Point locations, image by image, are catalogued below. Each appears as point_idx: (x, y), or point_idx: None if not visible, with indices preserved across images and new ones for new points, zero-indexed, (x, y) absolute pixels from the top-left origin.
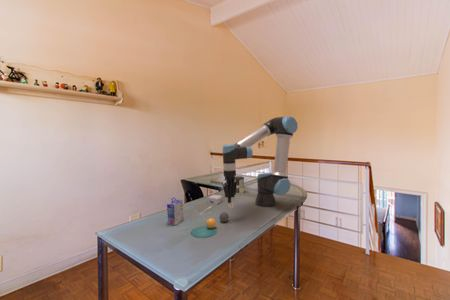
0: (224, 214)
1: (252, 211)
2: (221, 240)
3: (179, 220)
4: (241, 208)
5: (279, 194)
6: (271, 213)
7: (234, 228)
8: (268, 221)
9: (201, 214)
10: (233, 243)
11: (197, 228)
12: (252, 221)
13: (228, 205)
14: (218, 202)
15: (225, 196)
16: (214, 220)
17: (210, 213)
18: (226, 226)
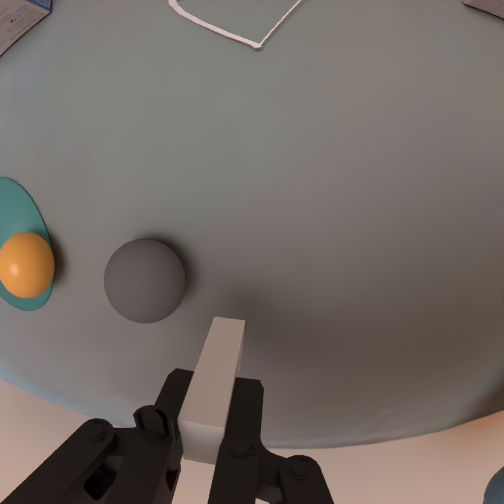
0: (118, 311)
1: (449, 329)
2: (29, 354)
3: (9, 39)
4: (486, 230)
5: (489, 481)
6: (432, 411)
7: (128, 364)
8: (318, 445)
9: (177, 5)
10: (51, 393)
11: (2, 194)
12: (278, 404)
13: (209, 331)
14: (484, 7)
15: (83, 428)
16: (22, 296)
17: (243, 43)
18: (113, 318)
